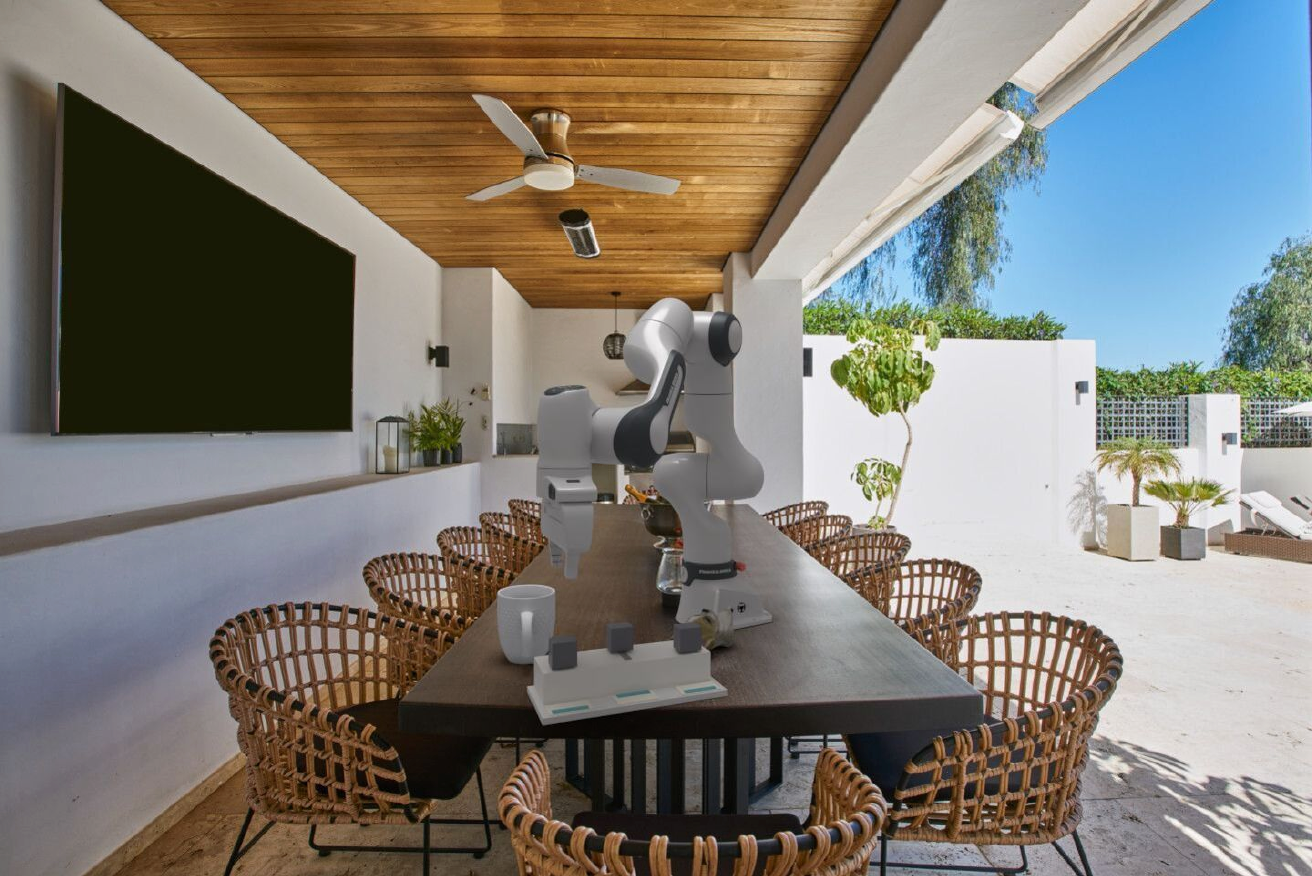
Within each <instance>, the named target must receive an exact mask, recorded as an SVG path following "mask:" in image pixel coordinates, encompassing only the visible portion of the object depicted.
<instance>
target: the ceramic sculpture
mask: <svg viewBox="0 0 1312 876" xmlns="http://www.w3.org/2000/svg"><path fill="white" fill-rule="evenodd" d="M690 622H695V623H697V624H698V625H700V626H701V627H702V646H703V647H704V648H706V649H707V650H708V651H710V652H711V650H713V649H715V648H716V647H723V648H724V647H725V648H730V647H731V645H732V644H733V642H734V639H735V629H734V628H733V617H732V612H731V610H730V609H728V610H726V611H723V612H719V613H717V614H715V613H714V612H713V611H711V610H708V609H702V611H701V614H700V615H694V616H693V617H690V618H688V619H687V621H686V622H685V623H690ZM671 640H674V633H672V635H671V636H669V637H668V638H667V639H665V638H663V639H661V640H660V641H659V642H662V641H671Z"/></svg>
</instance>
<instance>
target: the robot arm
mask: <svg viewBox="0 0 1312 876" xmlns="http://www.w3.org/2000/svg"><path fill="white" fill-rule="evenodd" d="M742 344H743V331H742V326H741V322H740V321H739V319H738V318H737V317H736V316H735V314H733V313H731V312H726V311H721V310H719V311H716V312H714V311H706V310H705V311H703V310H702V311H701V310H698V311H697V310H696V311H695V310H693V311H692V309H691V308H690V306H689V305H688V304H687V303H686V302H684V301H682V300H681V299H678V298H676V297H665V298H662V299H659V300H657V302H655V303H654V304H652V306H651V307H650V308H649V309H648V310H646V311H645V313H644V314H642V316H641V317H640V318H639V320H638V321H637V322H636V323H635V325H634V326H633V327H632V329H631V330H630V332H629V333H628V335H627V337H626V338H625V341H624V343H623V347H622V356H623V361H624V364H625V366H626V368H627V369H628V370H629V372H630V373H631V374H632V375H633V376H634V377H635V379H638V380H639V381H640V382H642V383H643V384H644V383H645V384H646V385H650V387H649V390H648V393H647V395H646V398H645V400H644V401H643V402H642V403H639V404H637V405H633V406H628V407H603V406H602V405H600V404H598V403H597V402H596V401H594V400H593V399H592V397H591V396H590V390H589V388H588V387H586V386H584V385H579V384H573V385H572V384H569V385H560V386H553V387H549V388H547V389H546V390H544V391H543V392H542V394H541V396H540V399H539V403H538V409H537V416H536V417H537V419H536V421H537V422H536V443H537V447H538V459H537V462H536V476H535V477H536V482H535V485H536V488H535V495H536V497H537V498H541V506H540V507H541V509H540V510H541V511H540V531H541V535H542V536H544V537H545V538H547V539H548V549H549V553H550V554H549V555H550V565H551V566H552V567H554V568H558V567H559V568H560V567H562V566H563V576H564V577H565V578H566V579H567V580H574V579H577V577H578V567H579V563H580V560H581V554H582V553H583V554H584V553H589V551H590V549H591V546H592V543H593V534H594V533H593V532H594V518H595V510H594V509H595V508H594V507H595V506H594V502H596V501H597V500H598V488H597V486H596V484H595V483H594V481H593V475H592V473H593V469H592V468H593V464H602V465H618V466H619V465H621V466H628V467H634V468H641V469H649V468H651V467H653V469H652V476H651V477H652V483H653V486H654V488H655V491H657V493H658V494H659V495H660V496H661V497H663V498H664V499H665V500H666V501H667V502H669V504H670V505H671V506H672V507H673V509H674V511H675V512H676V514H677V515H678V518H679V521H680V525H681V531H682V542H683V544H682V545H683V547H682V550H683V557H682V559H681V567H680V577H681V579H680V580H681V583H682V585H681V592H680V593H681V594H680V598H679V599H680V600H679V605H678V607H677V608H678V609H677V613H676V616H675V620H676V622H678V624H681V623H685V622H686V621H687V619H688V618H690V617H693V616H694V615H700V614H701V611H702V609H708V610H711V611H713V612H714V613H715V614H717V613H719V612H723V611H726V610H728V609H730V610H731V612H732V617H733V628H734V630H737V629H738V630H739V629H743V628H748V627H753V626H758V625H762V624H763V625H764V624H767V623H772V622H773V615H772V614H771V613H770V612H769V611H768V610H766V609H764V608H763V602H762V597H761V595H760V593H759V591H758V590H757V589H756V588H755V587H753V586H752V585H751V584H749V583H748V582H747V581H746V580H744V579H743V578H742V577H741V576H740V575H738V574H739V573H738V571H739V572H742V573H743V572H745V571H746V569H747V565H746V564H745V562H742V561H735V560H733V559H732V531H731V527H730V525H729V523H728V522H727V521H726V520H725V519H724V518H722V517H720V516H718V515H716V514H714V513H712V512H711V511H709V510H708V509H707V508H706V506H705V501H741V500H746V499H747V500H748V499H752V498H755V497H757V495H758V494H759V493H760V492H761V490H762V488H763V486H764V484H765V483H764V482H765V471H764V468H763V466H762V464H761V462H760V460H758V458H757V457H755V456H754V455H753V454H751V452H749V451H748V450H747V449H746V448H745V446H744V445H743V444H742V442H741V440H740V439H739V437H738V435H737V432H736V428H735V424H734V423H735V422H734V410H733V409H734V408H733V377H732V376H733V375H732V369H731V362H732V361H733V360H734V359H735V358H736V357H737V355H738V354H739V353H740V351H741V349H742V348H741V347H742ZM682 391H683V404H684V405H683V418H684V419H683V422H684V426H685V428H686V430H688V432H690V434H692V435H693V436H695V437H697V438H699V439H701V440H703V441H705V442H706V443H708V444H709V446H710V448H711V451H709V452H675V453H670V454H669V453H668V454H665V453H666V451H667V449H668V446H669V442H670V433H671V426H672V422H673V419H674V416H675V415H676V414H675V413H676V411H677V407H678V405H679V400H680V398H681V395H682ZM563 551H564V555H563ZM564 557H565V561H564ZM564 563H565V564H564Z"/></svg>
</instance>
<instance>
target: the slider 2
mask: <svg viewBox="0 0 1312 876" xmlns="http://www.w3.org/2000/svg"><path fill="white" fill-rule="evenodd" d="M673 634H674V643H673V647H674V648H675V649H676V650H678V651H679V652H680V653H682V652H690V651H698V650H702V627H701V626H700V625H698V624H697V623H695V622H690V623H674V624H673Z"/></svg>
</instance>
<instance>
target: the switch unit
mask: <svg viewBox="0 0 1312 876" xmlns="http://www.w3.org/2000/svg"><path fill="white" fill-rule="evenodd" d="M673 643H674V640H671V641H662V642H661V641H655V642H646V643H638V644H634V646H633V650H627V651H619V652H610V651H609V650H608V648H607V647H605V648H598V649H596V648H595V649H590V650H582V651H581V650H580V651H577V666H572V667H564V668H556V669H552V668H551V666H550V664H549V663H548V654H546V655H545V656H538V657H534V663H533V685H527V686H526V689H527V690H526V693H527V695H528V698H529V699H530V701H531V703H532V705H533V707H534V710H535V712H536V714H537V715H538V718H539V720H540V723H541V725H542V726H547V725H553V724H558V723H559V724H560V723H566V722H572V721H578V720H586V719H591V718H592V719H593V718H598V717H602V716H610V715H611V716H612V715H616V714H623V713H629V712H634V711H641V710H649V709H654V708H659V707H665V706H673V705H679V704H685V703H691V702H697V701H704V700H709V699H711V700H712V699H717V698H722V697H723V698H724V697H728V691H729V690H728V689H727V688H726V687H725V686H723V685H722V684H721V683H720V682H719V681H717V680H716V679H715V678H714V677H712V676H711V650H710V651H708V650H707V649H706V648H704V647H703V646H702V650H698V651H690V652H682V653H680V652H679V651H678V650H676V649H675V648H674V647H673Z"/></svg>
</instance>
